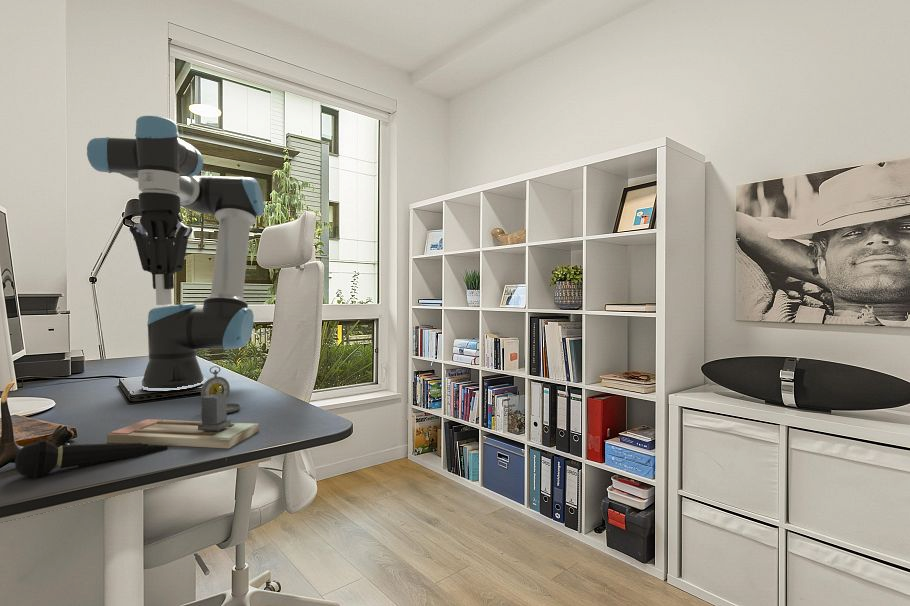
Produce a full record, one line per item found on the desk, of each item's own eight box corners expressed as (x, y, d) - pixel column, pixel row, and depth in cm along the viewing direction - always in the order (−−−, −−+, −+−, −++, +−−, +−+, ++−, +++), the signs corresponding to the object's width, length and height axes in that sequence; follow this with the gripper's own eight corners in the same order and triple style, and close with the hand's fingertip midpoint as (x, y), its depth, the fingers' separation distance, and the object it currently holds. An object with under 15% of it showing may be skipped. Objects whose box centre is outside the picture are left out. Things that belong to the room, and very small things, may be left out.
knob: (211, 424, 93) (210, 393, 93) (230, 424, 93) (230, 394, 93) (197, 430, 90) (197, 398, 89) (218, 431, 89) (217, 398, 89)
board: (148, 426, 99) (148, 417, 98) (258, 431, 96) (258, 421, 95) (106, 442, 89) (106, 432, 89) (228, 448, 86) (228, 437, 86)
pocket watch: (232, 415, 107) (231, 370, 107) (194, 415, 107) (193, 370, 107) (248, 405, 116) (247, 364, 115) (212, 405, 116) (212, 364, 115)
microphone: (162, 465, 86) (11, 481, 73) (163, 432, 88) (16, 442, 74) (170, 463, 83) (13, 480, 69) (172, 429, 84) (18, 439, 71)
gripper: (117, 191, 99) (122, 305, 101) (176, 190, 98) (180, 306, 100) (144, 196, 107) (148, 302, 109) (199, 195, 105) (203, 303, 107)
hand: (164, 304), depth 104 cm, fingers closed
